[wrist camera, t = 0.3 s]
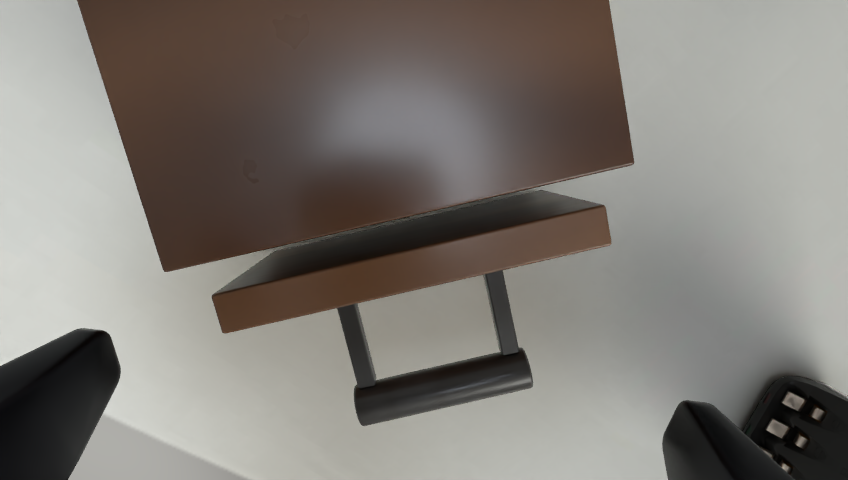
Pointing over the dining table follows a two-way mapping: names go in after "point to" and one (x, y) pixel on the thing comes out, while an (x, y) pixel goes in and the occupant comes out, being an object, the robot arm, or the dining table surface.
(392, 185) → the cabinet
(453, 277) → the drawer
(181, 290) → the dining table surface
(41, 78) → the dining table surface
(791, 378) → the battery charger
